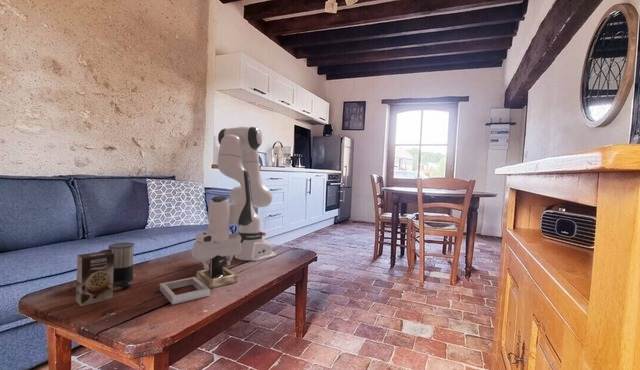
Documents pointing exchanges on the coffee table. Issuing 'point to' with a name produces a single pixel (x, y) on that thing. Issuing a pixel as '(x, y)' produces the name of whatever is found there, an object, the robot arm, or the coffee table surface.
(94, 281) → the cookie box
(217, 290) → the coffee table surface
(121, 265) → the milk frother
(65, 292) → the coffee table surface
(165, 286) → the frame
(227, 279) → the tan wooden frame
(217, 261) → the battery charger
